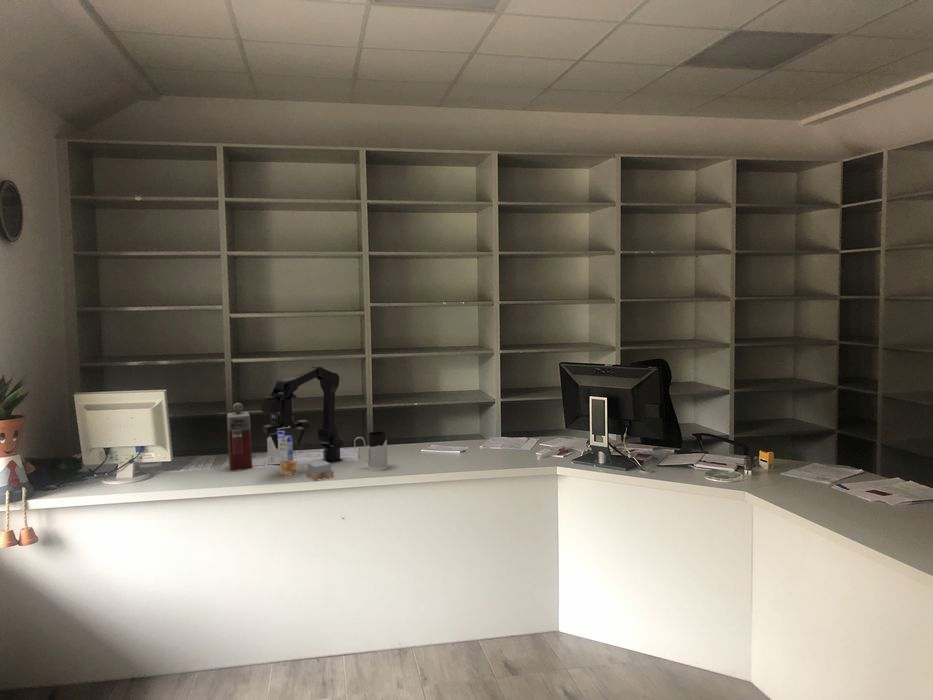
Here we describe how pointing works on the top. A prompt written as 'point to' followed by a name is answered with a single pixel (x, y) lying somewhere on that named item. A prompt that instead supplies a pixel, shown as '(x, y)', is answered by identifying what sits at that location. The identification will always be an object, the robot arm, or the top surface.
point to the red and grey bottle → (239, 438)
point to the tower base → (320, 475)
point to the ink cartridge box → (280, 449)
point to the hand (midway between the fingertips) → (287, 447)
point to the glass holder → (376, 450)
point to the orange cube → (288, 467)
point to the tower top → (319, 467)
